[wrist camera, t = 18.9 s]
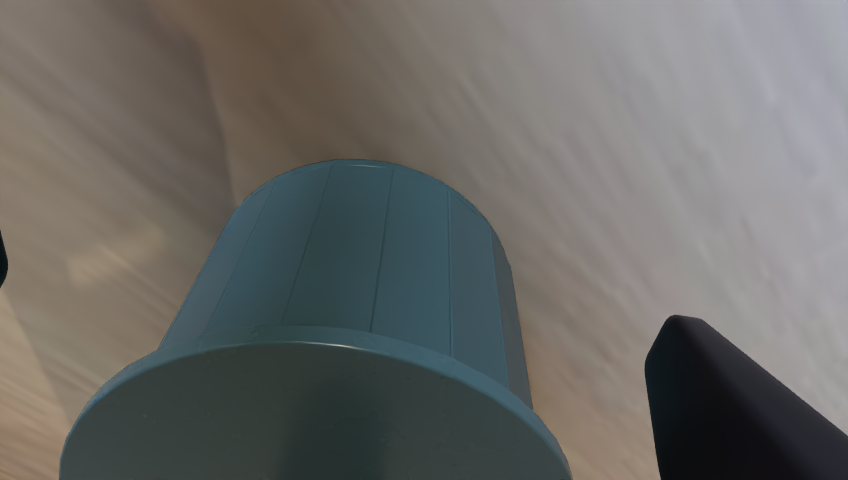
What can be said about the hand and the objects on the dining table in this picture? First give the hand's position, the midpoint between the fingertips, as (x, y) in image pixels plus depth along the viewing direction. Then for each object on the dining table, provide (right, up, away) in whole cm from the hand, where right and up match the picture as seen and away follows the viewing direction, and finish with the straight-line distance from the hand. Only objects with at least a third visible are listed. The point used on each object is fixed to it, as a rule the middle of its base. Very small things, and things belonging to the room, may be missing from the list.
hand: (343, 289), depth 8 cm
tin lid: (-2, -7, +8) cm, 11 cm away
